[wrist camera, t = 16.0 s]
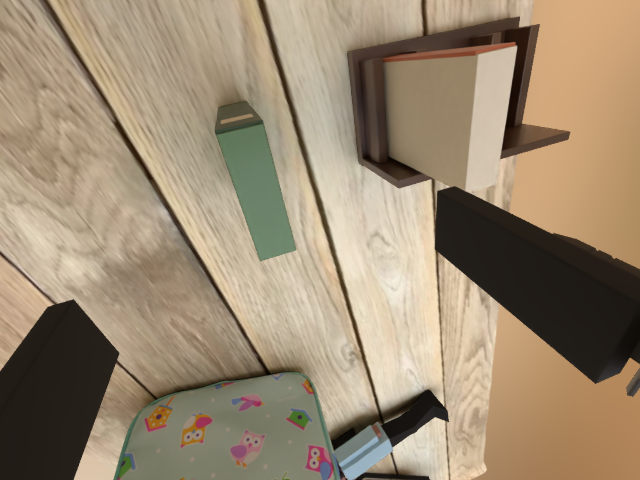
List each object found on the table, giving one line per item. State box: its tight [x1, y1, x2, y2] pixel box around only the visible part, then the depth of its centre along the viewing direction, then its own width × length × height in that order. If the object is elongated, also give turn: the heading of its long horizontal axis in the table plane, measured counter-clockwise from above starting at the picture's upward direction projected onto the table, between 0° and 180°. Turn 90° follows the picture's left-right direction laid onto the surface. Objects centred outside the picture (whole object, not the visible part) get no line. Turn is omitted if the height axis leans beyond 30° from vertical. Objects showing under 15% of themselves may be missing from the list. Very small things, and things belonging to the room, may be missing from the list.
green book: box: [215, 101, 296, 261], centre depth 24 cm, size 9×3×14 cm, turn 10°
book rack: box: [347, 17, 570, 188], centre depth 29 cm, size 11×18×9 cm, turn 100°
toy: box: [332, 390, 449, 480], centre depth 60 cm, size 10×8×30 cm
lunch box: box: [113, 372, 340, 480], centre depth 38 cm, size 27×10×21 cm, turn 86°
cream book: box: [383, 42, 517, 193], centre depth 25 cm, size 9×3×14 cm, turn 10°
